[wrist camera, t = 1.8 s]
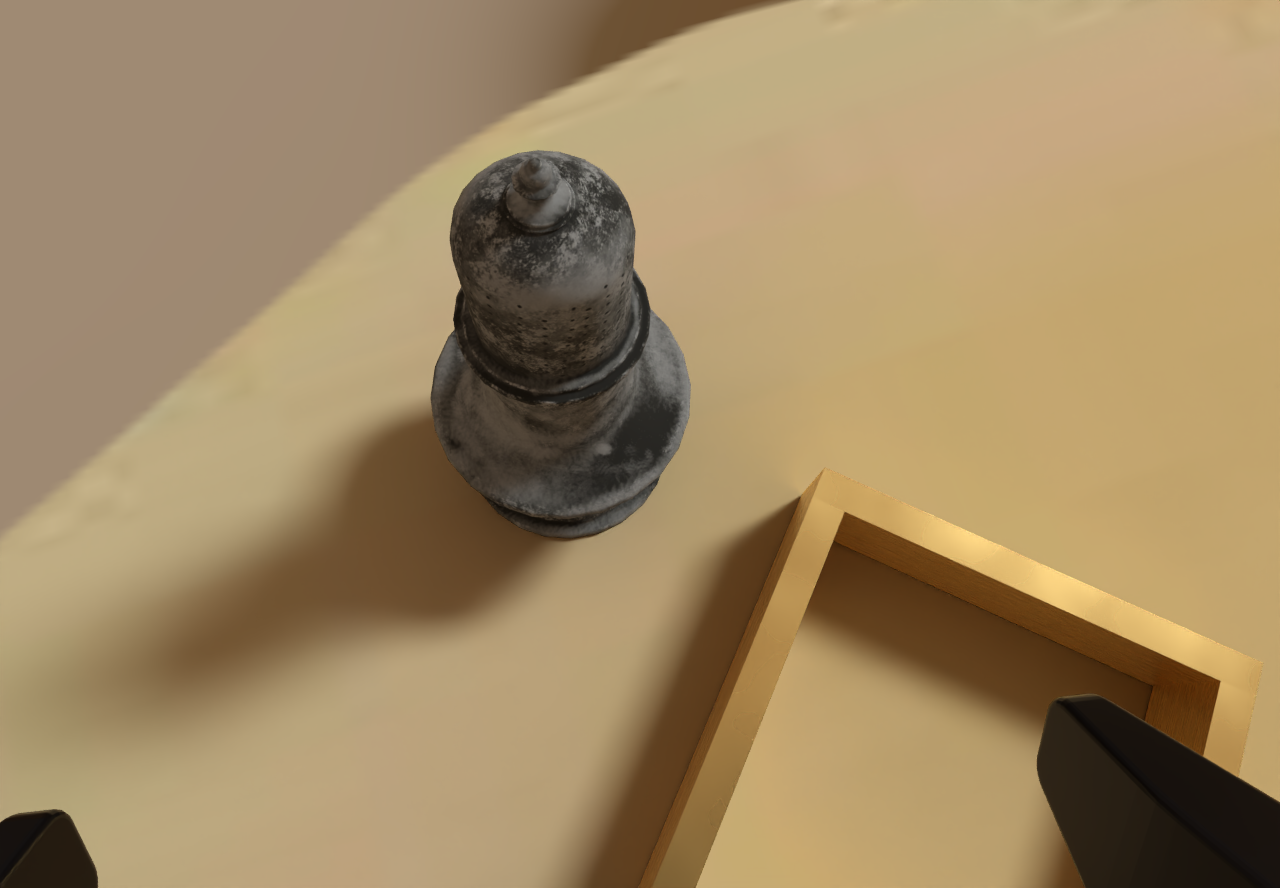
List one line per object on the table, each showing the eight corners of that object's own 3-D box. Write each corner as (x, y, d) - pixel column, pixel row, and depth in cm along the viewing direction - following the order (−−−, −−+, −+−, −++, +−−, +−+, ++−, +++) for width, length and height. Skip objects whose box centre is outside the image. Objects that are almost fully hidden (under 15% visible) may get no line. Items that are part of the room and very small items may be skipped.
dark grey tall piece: (455, 344, 24) (320, -8, 12) (668, 334, 24) (728, -16, 13) (456, 556, 22) (300, 373, 11) (687, 542, 22) (775, 350, 11)
